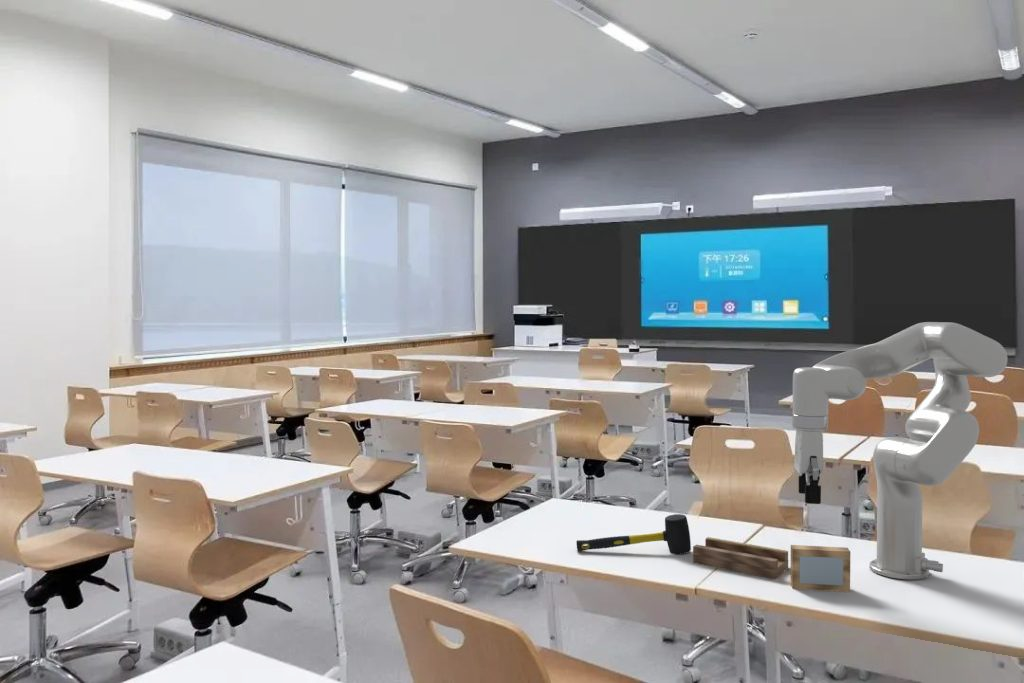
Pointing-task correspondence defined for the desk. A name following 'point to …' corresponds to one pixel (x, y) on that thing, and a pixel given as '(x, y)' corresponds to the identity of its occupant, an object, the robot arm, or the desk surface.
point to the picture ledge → (741, 557)
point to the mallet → (649, 537)
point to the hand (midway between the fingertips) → (809, 498)
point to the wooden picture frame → (820, 568)
